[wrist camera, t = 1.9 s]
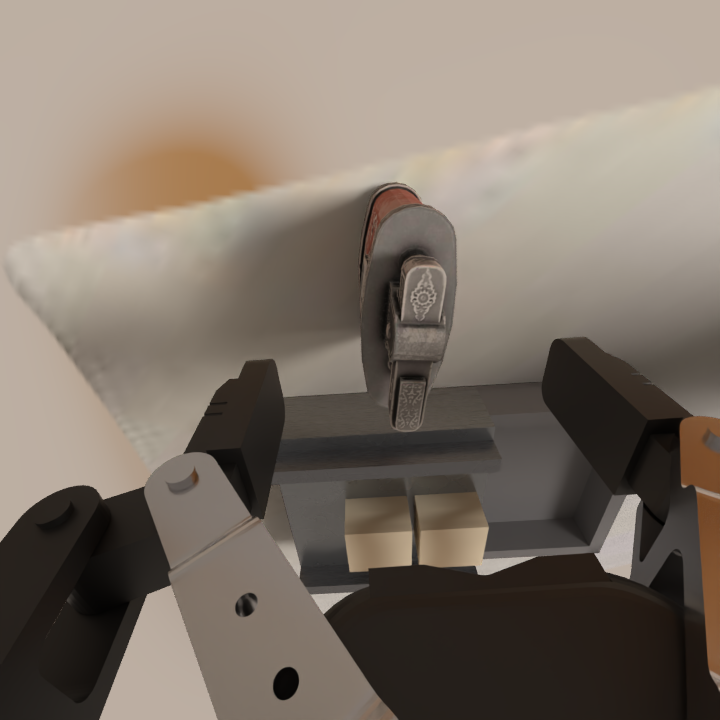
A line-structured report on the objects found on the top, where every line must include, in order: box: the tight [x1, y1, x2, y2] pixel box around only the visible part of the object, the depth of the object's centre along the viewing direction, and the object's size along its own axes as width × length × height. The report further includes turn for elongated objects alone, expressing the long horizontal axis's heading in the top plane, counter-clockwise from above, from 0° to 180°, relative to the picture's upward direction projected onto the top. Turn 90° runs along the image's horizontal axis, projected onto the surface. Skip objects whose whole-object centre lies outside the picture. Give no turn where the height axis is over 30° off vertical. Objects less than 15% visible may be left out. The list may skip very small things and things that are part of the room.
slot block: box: [271, 386, 502, 594], centre depth 26 cm, size 13×15×6 cm
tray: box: [475, 382, 626, 559], centre depth 27 cm, size 10×15×3 cm
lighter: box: [358, 182, 457, 432], centre depth 16 cm, size 8×3×10 cm, turn 178°
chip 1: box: [345, 496, 412, 572], centre depth 24 cm, size 4×4×2 cm
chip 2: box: [414, 492, 489, 567], centre depth 24 cm, size 4×4×2 cm
